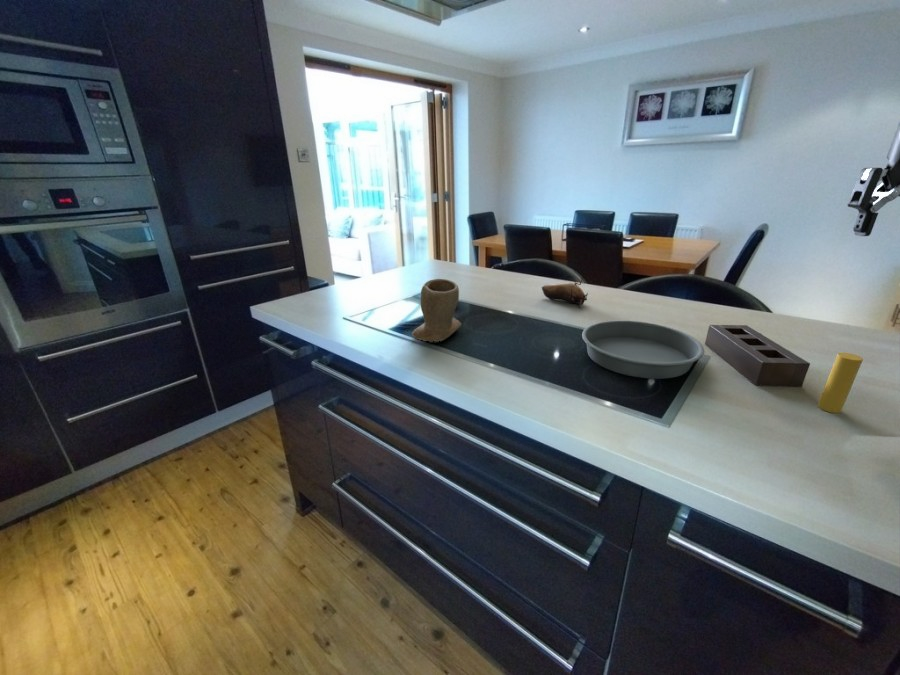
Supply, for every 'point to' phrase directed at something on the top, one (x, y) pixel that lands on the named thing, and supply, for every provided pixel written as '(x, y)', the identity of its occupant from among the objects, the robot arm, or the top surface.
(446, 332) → the stone cup
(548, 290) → the vegetable
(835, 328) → the top surface
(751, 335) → the stand
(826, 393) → the peg
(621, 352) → the cake pan
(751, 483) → the top surface
